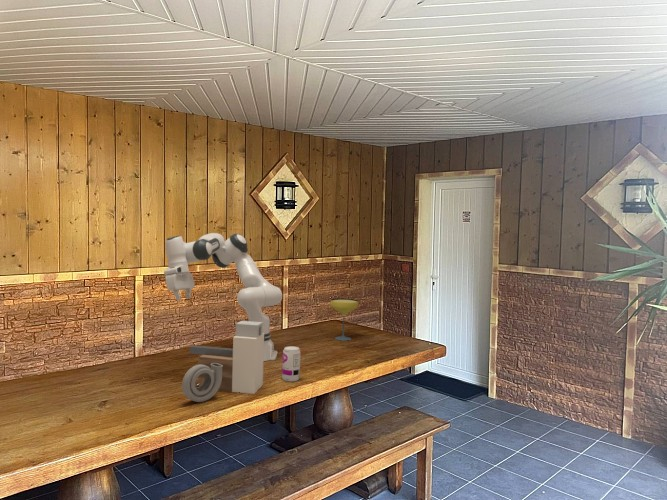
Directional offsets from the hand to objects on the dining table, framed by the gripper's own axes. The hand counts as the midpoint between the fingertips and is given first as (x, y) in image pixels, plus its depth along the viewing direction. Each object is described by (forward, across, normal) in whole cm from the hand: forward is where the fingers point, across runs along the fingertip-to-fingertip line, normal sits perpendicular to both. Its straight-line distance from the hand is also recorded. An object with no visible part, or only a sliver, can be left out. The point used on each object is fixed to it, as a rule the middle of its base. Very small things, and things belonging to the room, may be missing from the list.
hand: (183, 299), depth 236 cm
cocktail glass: (+42, -105, +50) cm, 123 cm away
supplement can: (+47, -15, +40) cm, 63 cm away
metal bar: (+27, +5, +12) cm, 30 cm away
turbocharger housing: (+43, +23, +12) cm, 50 cm away
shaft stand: (+44, +4, +25) cm, 51 cm away
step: (+41, +4, +13) cm, 43 cm away
